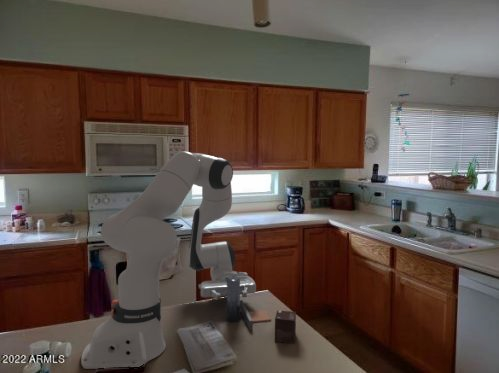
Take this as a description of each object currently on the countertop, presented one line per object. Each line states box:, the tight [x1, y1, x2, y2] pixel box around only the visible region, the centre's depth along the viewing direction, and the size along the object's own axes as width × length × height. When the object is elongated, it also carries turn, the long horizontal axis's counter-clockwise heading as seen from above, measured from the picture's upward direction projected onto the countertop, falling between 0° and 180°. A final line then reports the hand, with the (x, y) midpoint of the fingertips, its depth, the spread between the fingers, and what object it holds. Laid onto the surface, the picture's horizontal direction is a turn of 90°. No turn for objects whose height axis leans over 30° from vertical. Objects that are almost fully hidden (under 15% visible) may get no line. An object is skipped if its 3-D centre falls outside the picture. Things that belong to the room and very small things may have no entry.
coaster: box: [248, 309, 272, 323], centre depth 122 cm, size 7×7×1 cm
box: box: [274, 310, 297, 344], centre depth 108 cm, size 6×6×7 cm
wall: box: [240, 300, 254, 331], centre depth 120 cm, size 1×16×3 cm, turn 13°
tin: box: [226, 278, 241, 324], centre depth 119 cm, size 4×4×14 cm
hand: (231, 296), depth 121 cm, fingers open, 8 cm apart
